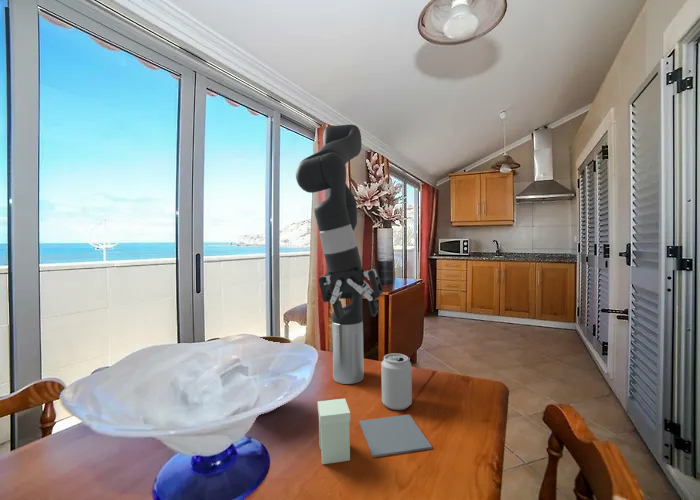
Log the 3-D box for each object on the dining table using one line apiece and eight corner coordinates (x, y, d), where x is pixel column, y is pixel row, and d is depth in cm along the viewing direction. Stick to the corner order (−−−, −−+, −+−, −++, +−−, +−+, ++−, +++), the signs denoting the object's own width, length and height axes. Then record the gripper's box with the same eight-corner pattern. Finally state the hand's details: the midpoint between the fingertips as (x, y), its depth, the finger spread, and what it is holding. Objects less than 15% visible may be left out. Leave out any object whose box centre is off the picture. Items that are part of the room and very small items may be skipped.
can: (411, 413, 75) (411, 363, 75) (380, 410, 77) (379, 361, 77) (412, 398, 83) (411, 352, 83) (383, 395, 84) (382, 351, 84)
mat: (359, 422, 72) (359, 420, 72) (409, 416, 74) (409, 414, 74) (373, 457, 60) (372, 455, 60) (432, 448, 62) (432, 446, 62)
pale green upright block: (318, 445, 64) (317, 401, 64) (345, 441, 65) (345, 398, 65) (321, 464, 58) (320, 416, 58) (351, 460, 60) (350, 412, 59)
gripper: (375, 238, 70) (391, 307, 72) (321, 248, 76) (337, 311, 79) (362, 246, 63) (381, 322, 66) (304, 256, 70) (322, 325, 72)
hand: (357, 316), depth 72 cm, fingers open, 8 cm apart
